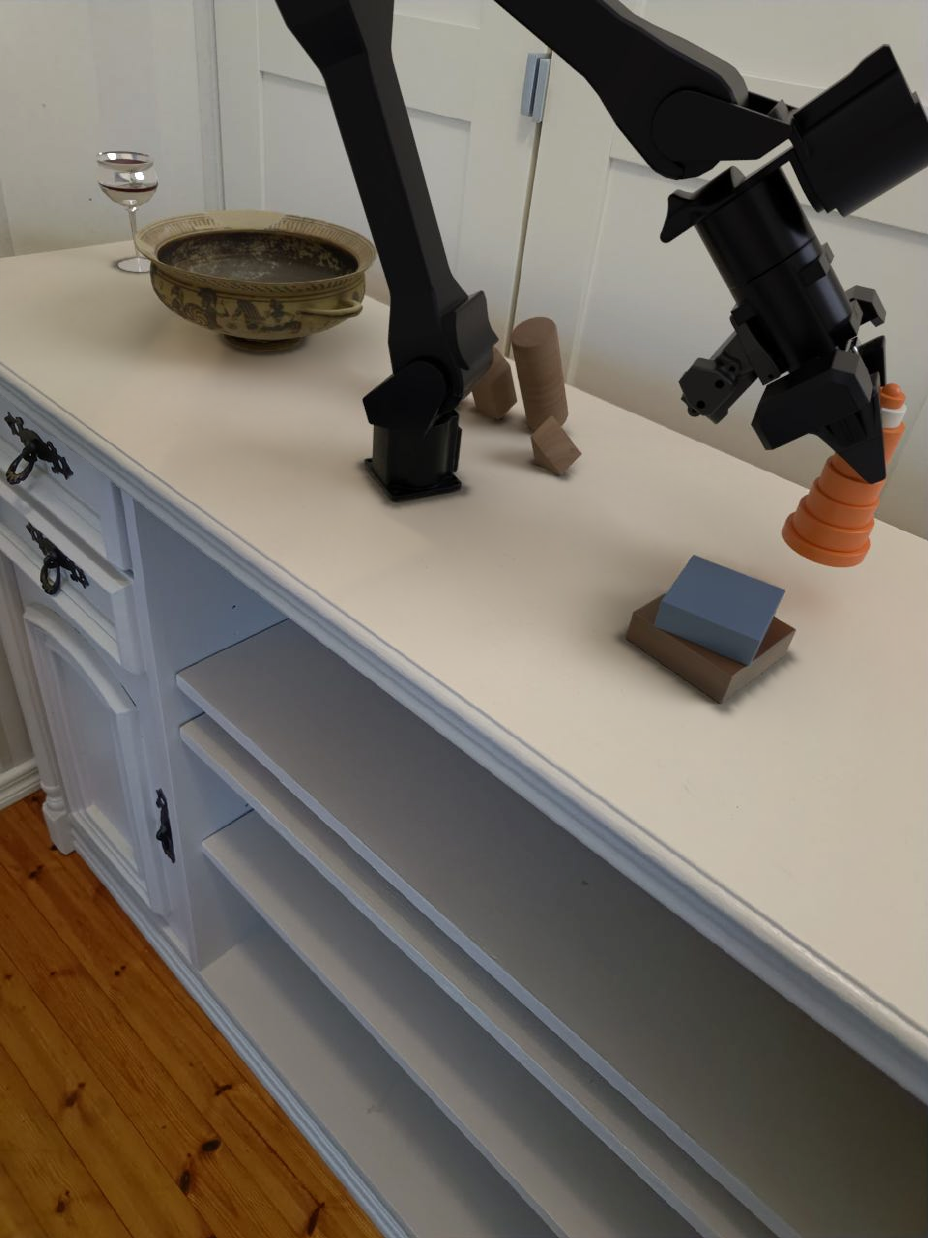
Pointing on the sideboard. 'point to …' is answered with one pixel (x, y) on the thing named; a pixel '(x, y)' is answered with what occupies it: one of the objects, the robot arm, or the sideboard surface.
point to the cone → (843, 501)
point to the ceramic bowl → (257, 273)
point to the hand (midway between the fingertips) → (880, 469)
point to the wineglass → (128, 189)
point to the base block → (706, 654)
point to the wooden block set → (533, 391)
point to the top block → (719, 609)
